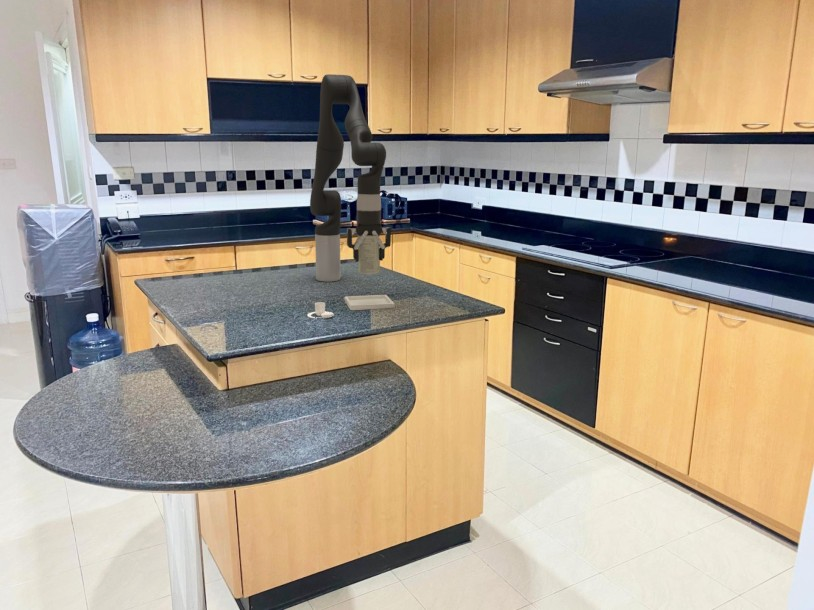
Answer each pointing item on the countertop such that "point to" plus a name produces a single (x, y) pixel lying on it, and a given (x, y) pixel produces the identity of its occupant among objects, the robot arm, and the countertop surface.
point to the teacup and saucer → (320, 311)
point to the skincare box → (369, 255)
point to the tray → (369, 302)
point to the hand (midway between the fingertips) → (368, 260)
